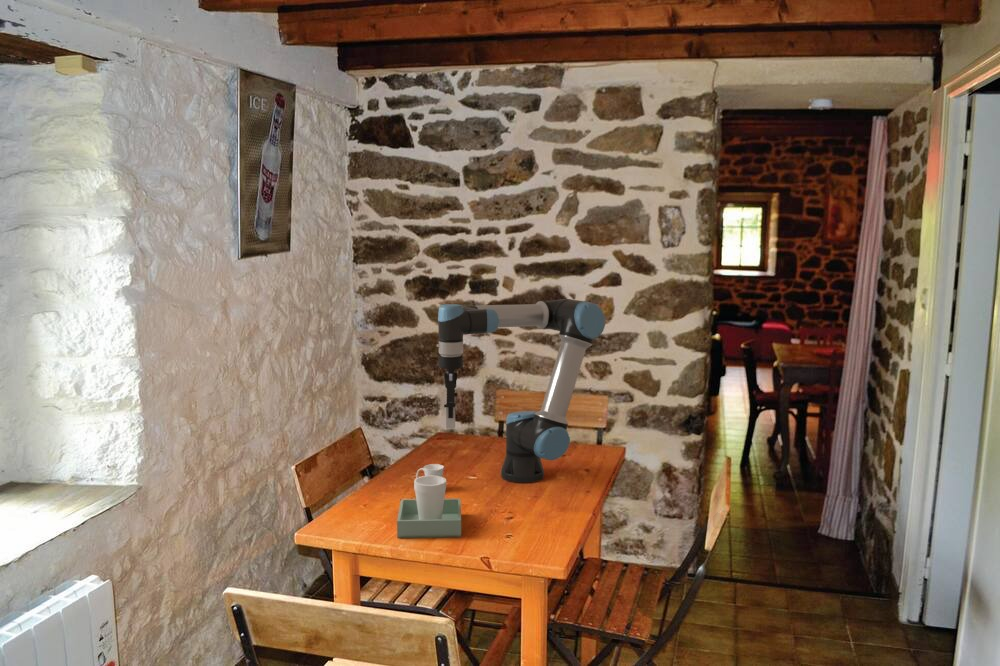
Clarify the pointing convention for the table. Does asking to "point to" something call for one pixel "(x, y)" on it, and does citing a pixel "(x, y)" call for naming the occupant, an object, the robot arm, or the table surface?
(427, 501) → the foam cup
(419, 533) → the bin
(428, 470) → the cup
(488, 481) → the table surface
